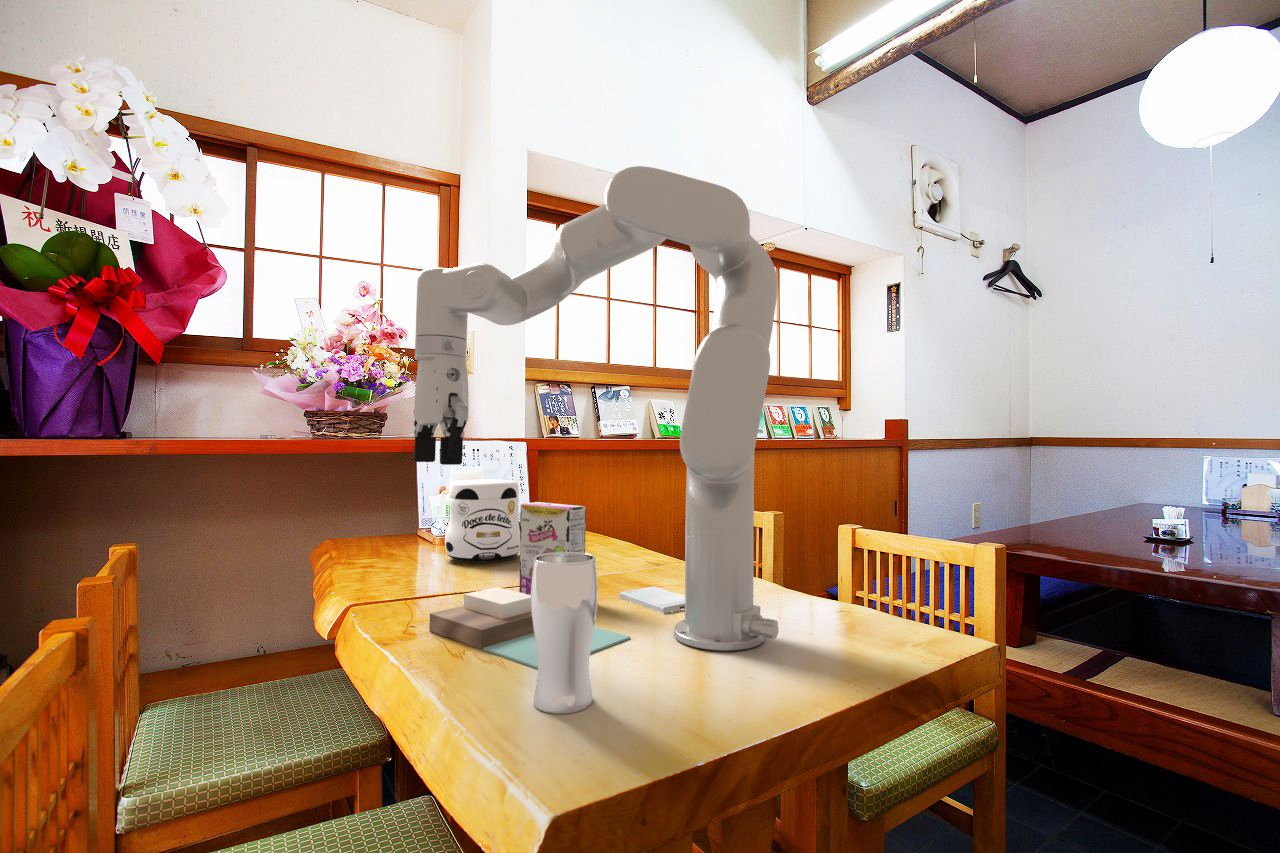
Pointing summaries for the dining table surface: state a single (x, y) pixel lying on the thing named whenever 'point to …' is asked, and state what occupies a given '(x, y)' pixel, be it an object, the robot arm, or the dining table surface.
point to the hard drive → (655, 599)
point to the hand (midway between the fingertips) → (437, 463)
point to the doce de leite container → (483, 520)
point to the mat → (526, 651)
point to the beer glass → (563, 629)
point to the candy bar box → (548, 534)
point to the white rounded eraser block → (498, 602)
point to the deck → (479, 626)
